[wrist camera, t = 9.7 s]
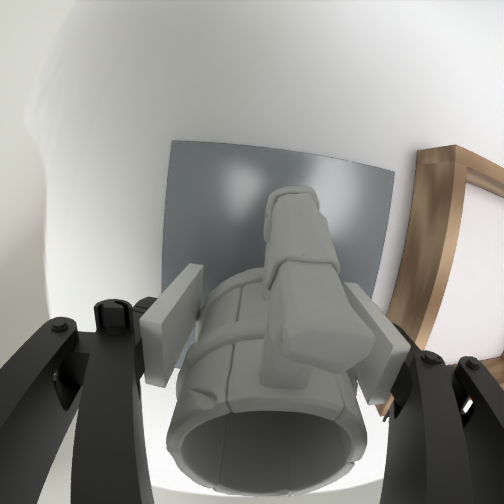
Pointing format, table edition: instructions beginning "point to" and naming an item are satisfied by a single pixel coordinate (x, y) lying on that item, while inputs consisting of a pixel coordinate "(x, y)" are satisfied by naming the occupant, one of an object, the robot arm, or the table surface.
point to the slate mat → (253, 210)
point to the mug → (274, 367)
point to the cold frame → (437, 241)
